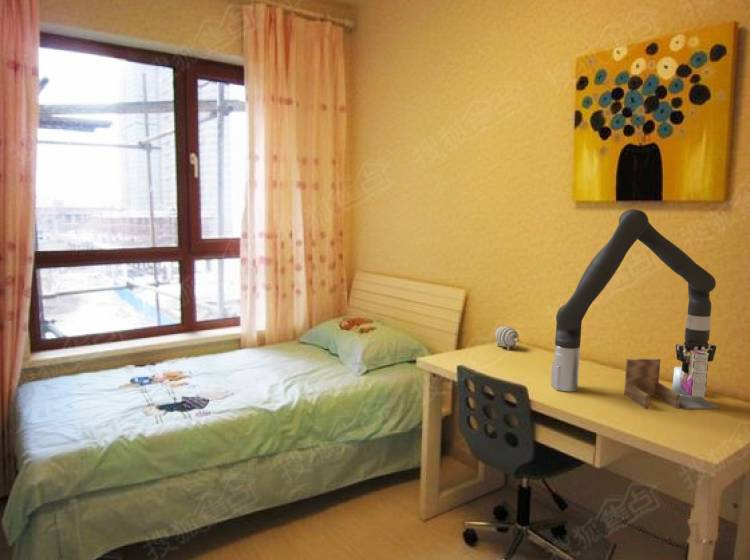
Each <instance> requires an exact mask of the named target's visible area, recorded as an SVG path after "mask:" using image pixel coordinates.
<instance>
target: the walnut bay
mask: <svg viewBox="0 0 750 560" xmlns="http://www.w3.org/2000/svg"><path fill="white" fill-rule="evenodd" d="M625 365H626V366H625V375H624V376H625V377H624V378H625V379H624V390H623V394H624V396H625V397H627V398H629V400H630V399H631V400H632V401H633V402H634V403H635V404H637V405H639V406H640V407H641V408H643V409H645V410H647V409H649V404H650V403H649V402H650V396H655V397H657V398H658V399H660V400H661V401H664V402H665V403H666V404H668V405H670V406H671V407H673V408H674V409H679V408H680V406H679V401H680V395H681V394H678V393H676V392H674V391H673V390H672V388H671V389H670V388H669V387H667V386H666V385H663V384H662V383H661V382H660V381H659V380H660V367H661V359H660V358H626V364H625Z"/></svg>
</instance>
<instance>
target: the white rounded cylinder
mask: <svg viewBox="0 0 750 560" xmlns="http://www.w3.org/2000/svg"><path fill="white" fill-rule="evenodd" d="M680 378H681V366H674V368H673V378H672V387H671V390H673V391H674V392H676V393H678V394H680V395H689V394H688V393H687V392H686V391H685V390H683V389H682V388H681V387H680Z"/></svg>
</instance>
